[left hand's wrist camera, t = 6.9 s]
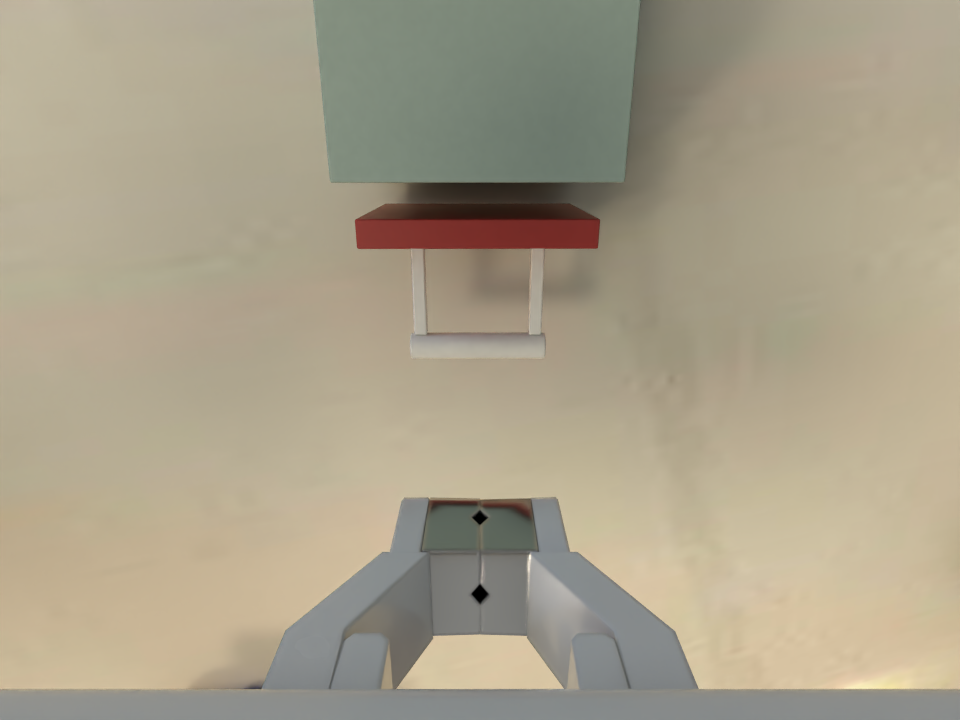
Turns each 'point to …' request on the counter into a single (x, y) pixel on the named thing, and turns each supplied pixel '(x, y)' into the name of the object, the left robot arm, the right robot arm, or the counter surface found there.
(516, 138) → the cabinet
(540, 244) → the drawer
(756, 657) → the counter surface
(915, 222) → the counter surface
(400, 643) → the left robot arm
